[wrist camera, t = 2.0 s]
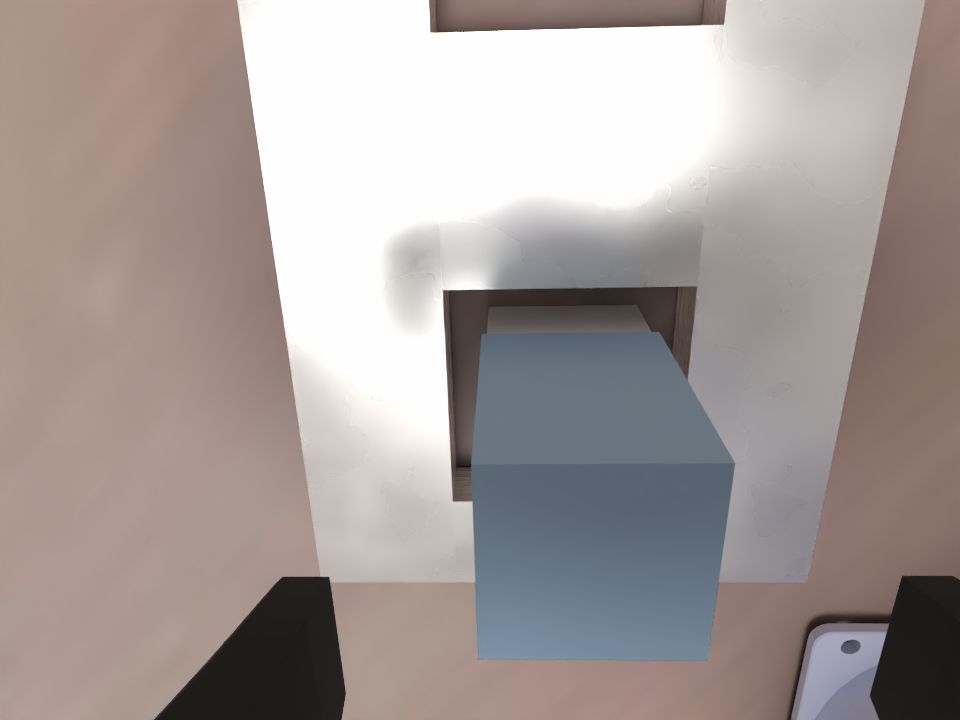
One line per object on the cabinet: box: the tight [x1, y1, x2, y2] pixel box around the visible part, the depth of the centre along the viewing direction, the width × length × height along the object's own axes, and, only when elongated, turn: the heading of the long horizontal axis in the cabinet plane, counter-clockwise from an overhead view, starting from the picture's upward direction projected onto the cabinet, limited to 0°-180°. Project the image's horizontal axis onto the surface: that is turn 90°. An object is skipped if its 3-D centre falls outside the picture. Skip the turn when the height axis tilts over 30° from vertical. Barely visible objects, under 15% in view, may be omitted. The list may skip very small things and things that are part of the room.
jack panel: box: [237, 0, 925, 583], centre depth 14 cm, size 12×20×2 cm, turn 1°
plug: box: [471, 305, 735, 661], centre depth 13 cm, size 4×4×7 cm
